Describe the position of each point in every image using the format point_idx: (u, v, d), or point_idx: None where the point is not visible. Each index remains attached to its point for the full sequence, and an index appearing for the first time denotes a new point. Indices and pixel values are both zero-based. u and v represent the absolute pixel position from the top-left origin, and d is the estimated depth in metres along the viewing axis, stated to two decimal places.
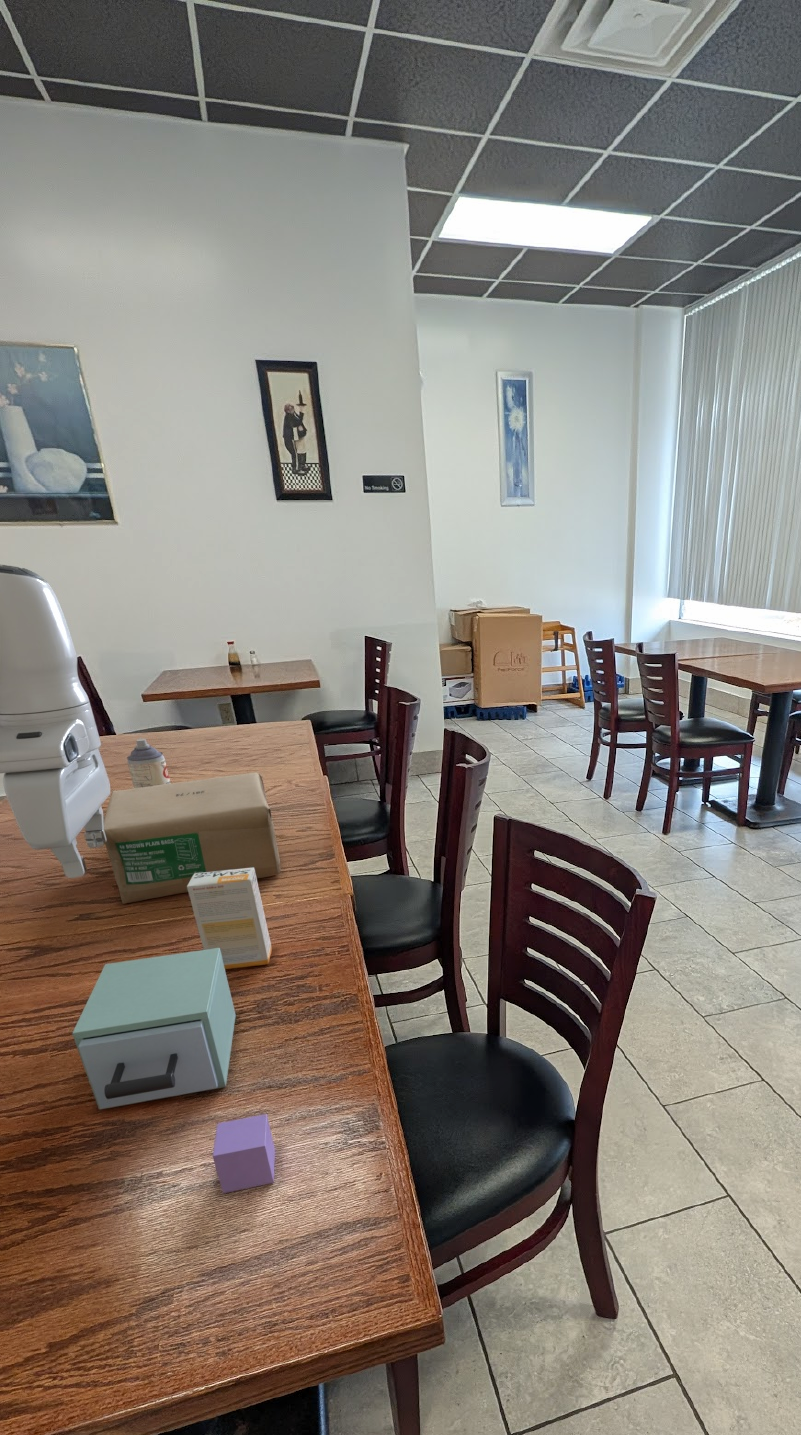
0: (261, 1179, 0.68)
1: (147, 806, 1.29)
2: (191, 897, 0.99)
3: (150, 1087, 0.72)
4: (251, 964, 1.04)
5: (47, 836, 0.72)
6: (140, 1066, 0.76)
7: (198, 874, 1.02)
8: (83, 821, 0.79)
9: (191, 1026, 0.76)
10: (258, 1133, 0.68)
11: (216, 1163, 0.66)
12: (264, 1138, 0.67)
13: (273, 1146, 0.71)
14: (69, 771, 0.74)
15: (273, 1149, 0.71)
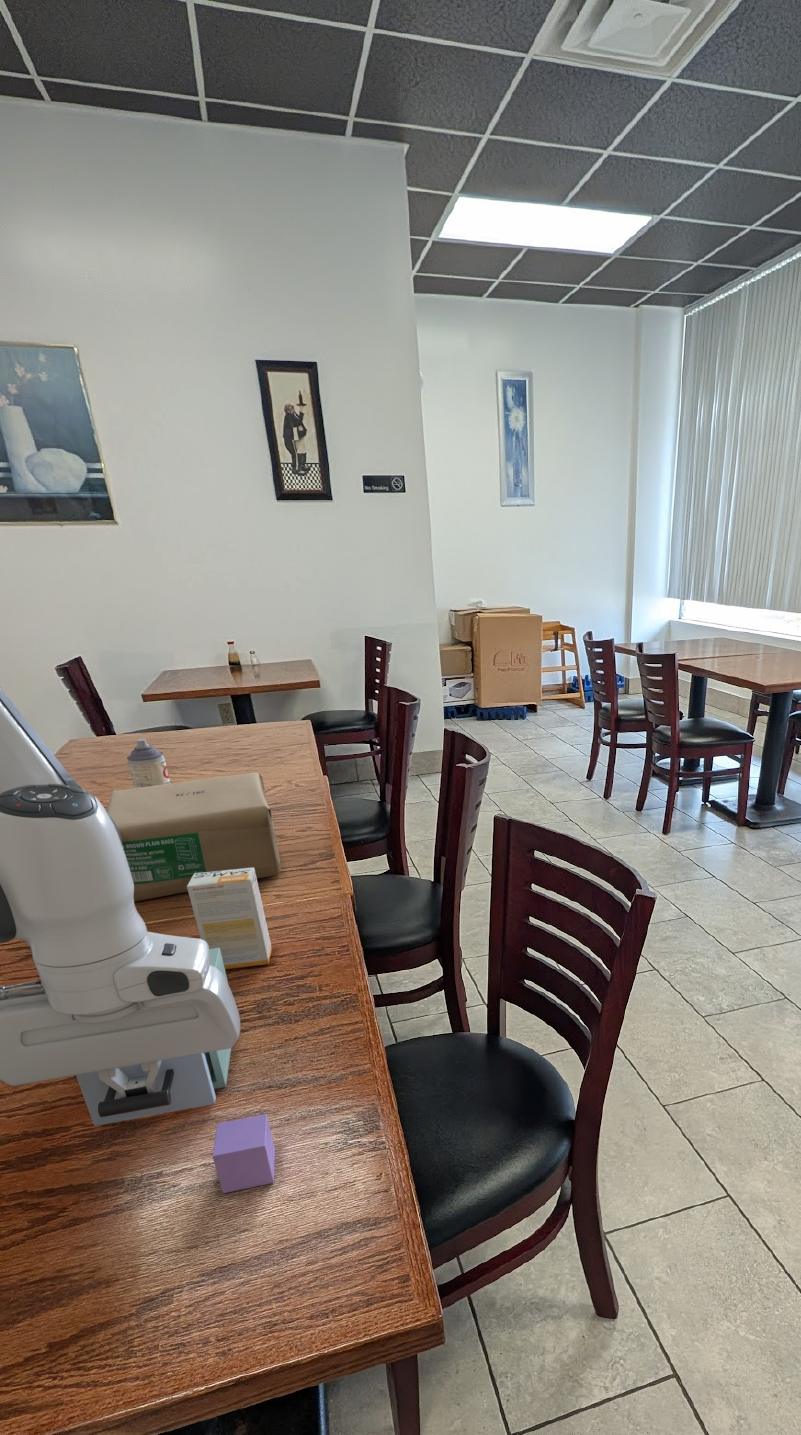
0: (261, 1179, 0.68)
1: (147, 806, 1.29)
2: (191, 897, 0.99)
3: (145, 1104, 0.70)
4: (251, 964, 1.04)
5: (238, 1023, 0.71)
6: None
7: (198, 874, 1.02)
8: None
9: None
10: (258, 1133, 0.68)
11: (216, 1163, 0.66)
12: (264, 1138, 0.67)
13: (273, 1146, 0.71)
14: None
15: (273, 1149, 0.71)
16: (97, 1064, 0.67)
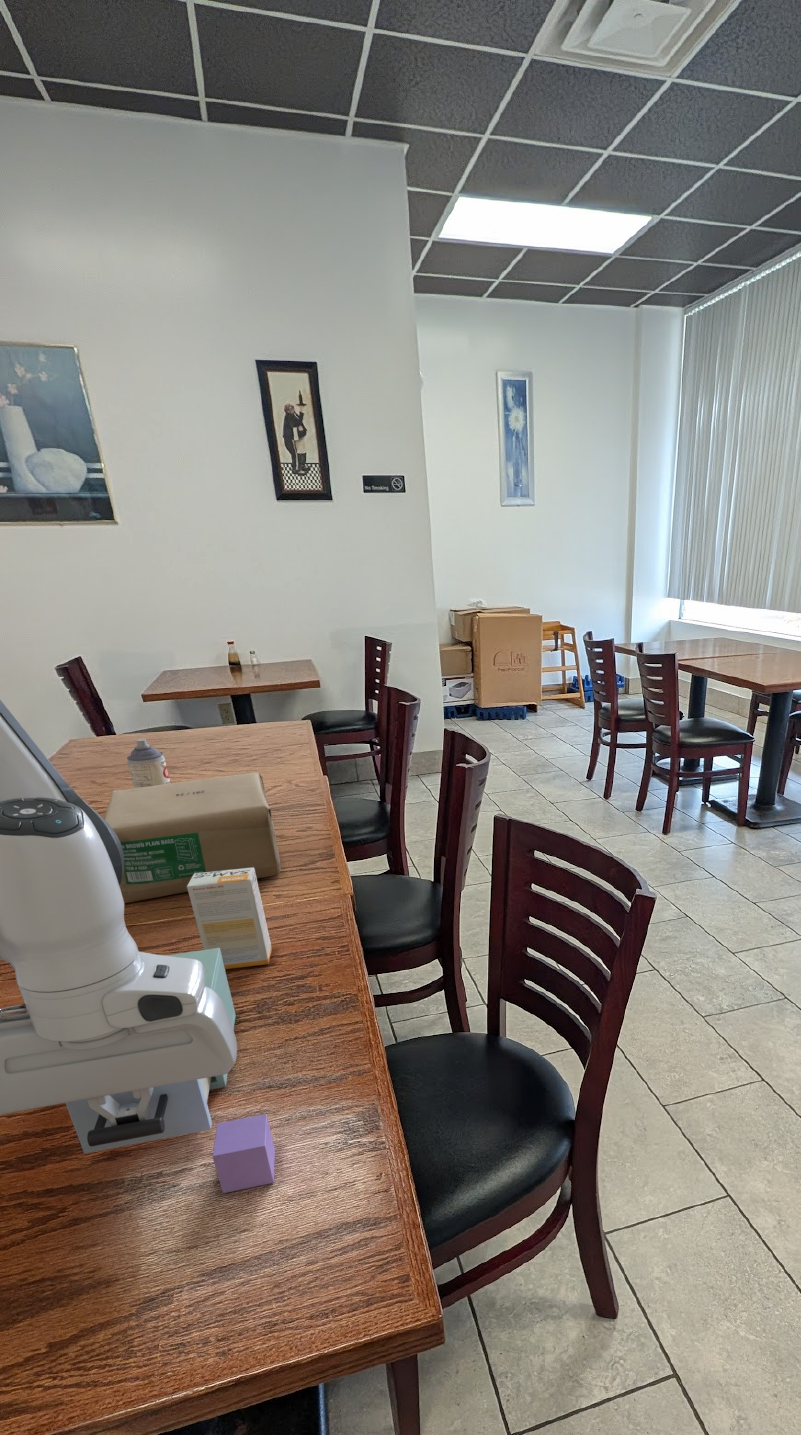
0: (261, 1179, 0.68)
1: (147, 806, 1.29)
2: (191, 897, 0.99)
3: (137, 1133, 0.66)
4: (251, 964, 1.04)
5: (235, 1047, 0.68)
6: None
7: (198, 874, 1.02)
8: None
9: None
10: (258, 1133, 0.68)
11: (216, 1163, 0.66)
12: (264, 1138, 0.67)
13: (273, 1146, 0.71)
14: None
15: (273, 1149, 0.71)
16: (86, 1092, 0.64)
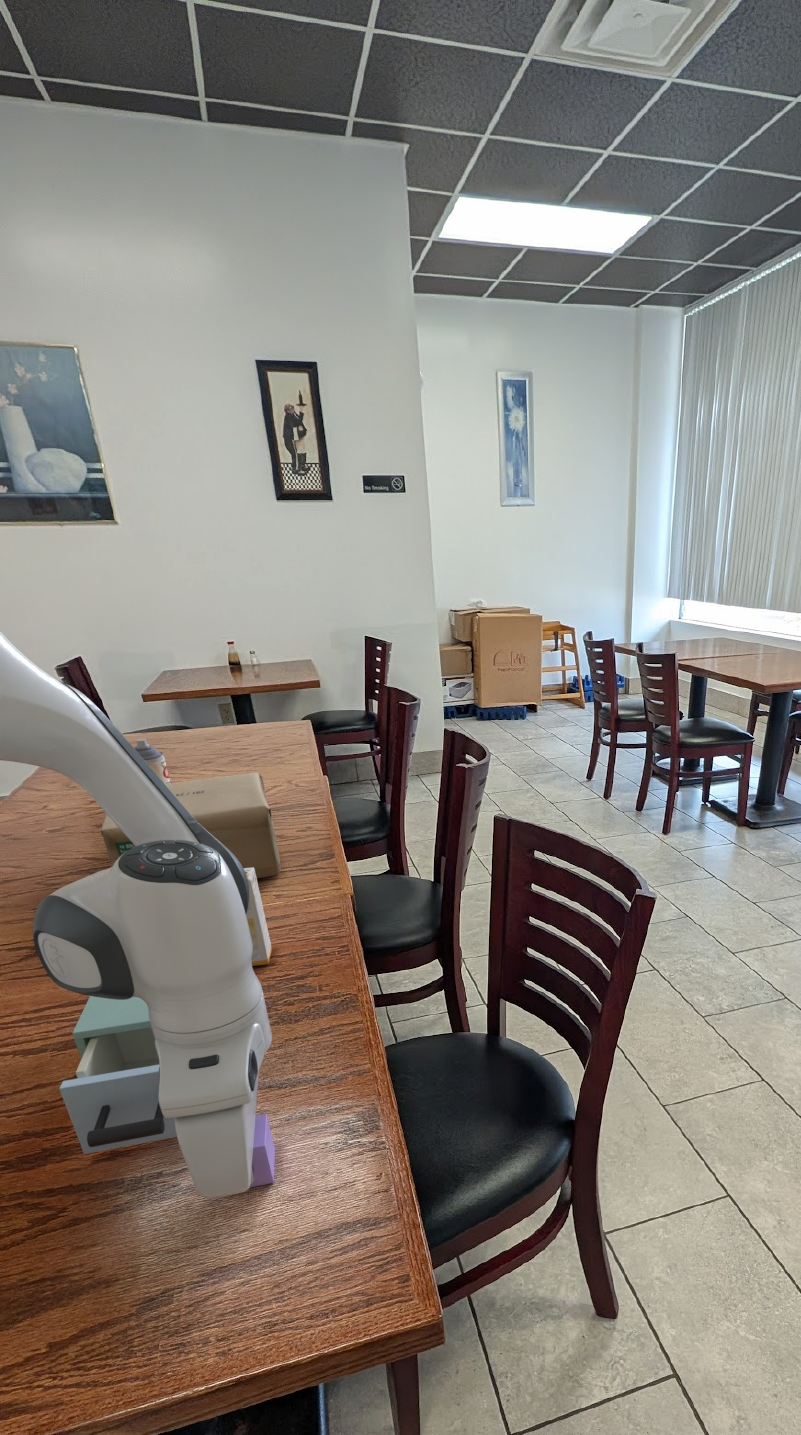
0: (261, 1179, 0.68)
1: None
2: None
3: (136, 1133, 0.66)
4: None
5: (226, 1187, 0.58)
6: (127, 1108, 0.70)
7: None
8: (253, 1135, 0.64)
9: None
10: (258, 1133, 0.68)
11: None
12: (264, 1138, 0.67)
13: (273, 1146, 0.71)
14: None
15: (273, 1149, 0.71)
16: None
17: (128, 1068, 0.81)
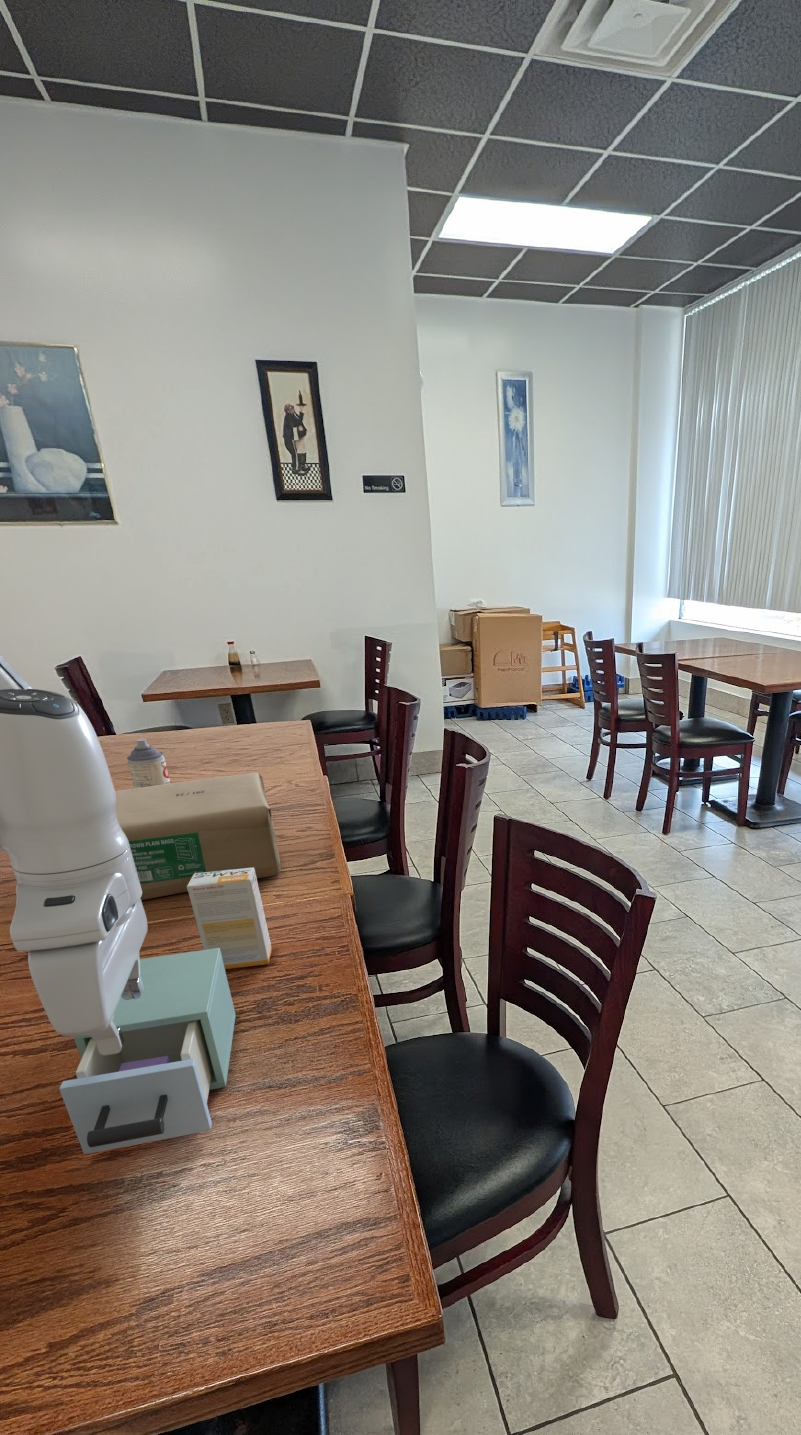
0: None
1: (147, 805, 1.29)
2: (191, 897, 0.99)
3: (136, 1134, 0.66)
4: (251, 964, 1.04)
5: (81, 1023, 0.59)
6: (127, 1108, 0.70)
7: (198, 874, 1.02)
8: (121, 988, 0.65)
9: (182, 1065, 0.70)
10: None
11: None
12: None
13: None
14: (107, 940, 0.61)
15: None
16: None
17: None
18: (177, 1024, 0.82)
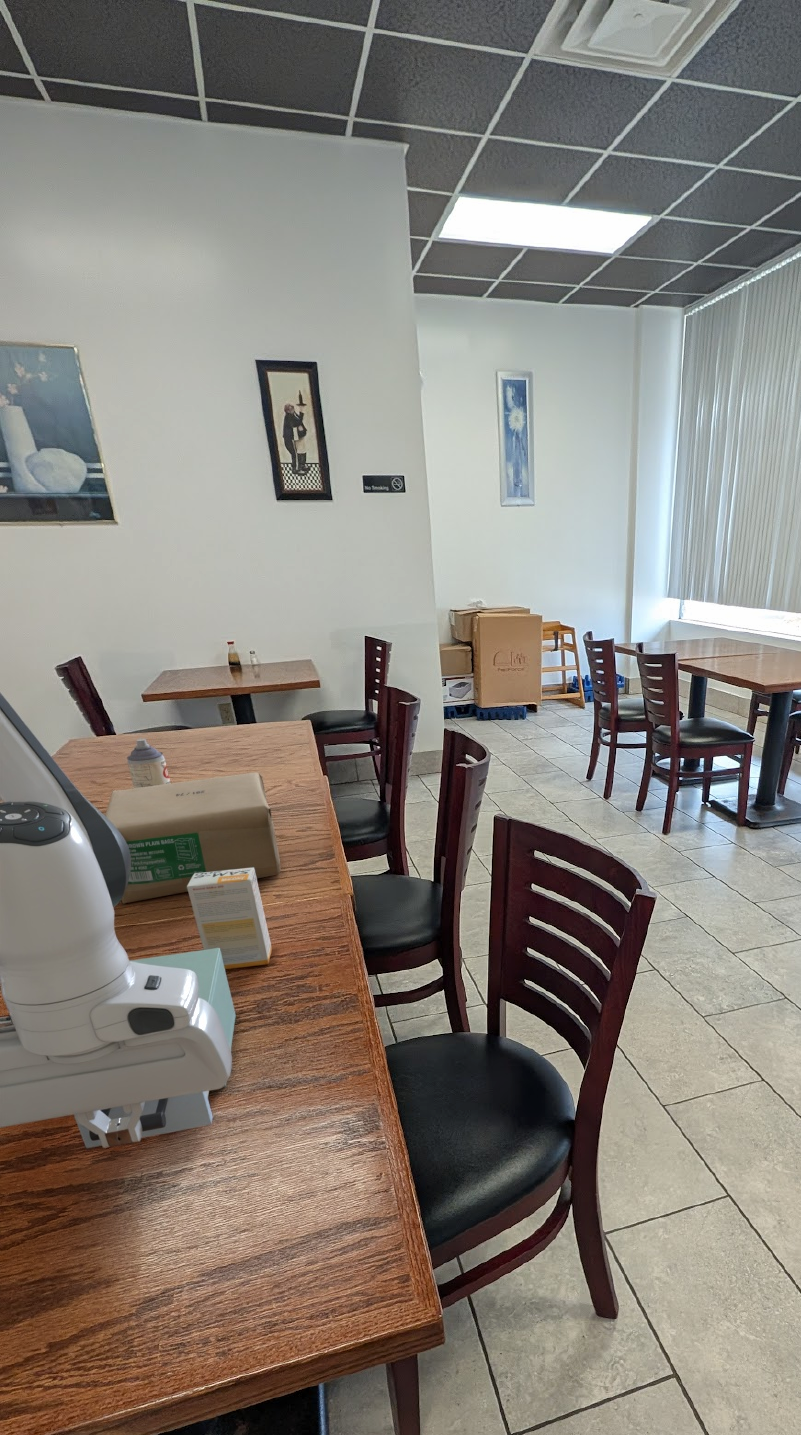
0: None
1: (147, 805, 1.29)
2: (191, 897, 0.99)
3: None
4: (251, 964, 1.04)
5: (230, 1060, 0.66)
6: None
7: (198, 874, 1.02)
8: None
9: None
10: None
11: None
12: None
13: None
14: None
15: None
16: (74, 1107, 0.61)
17: None
18: None
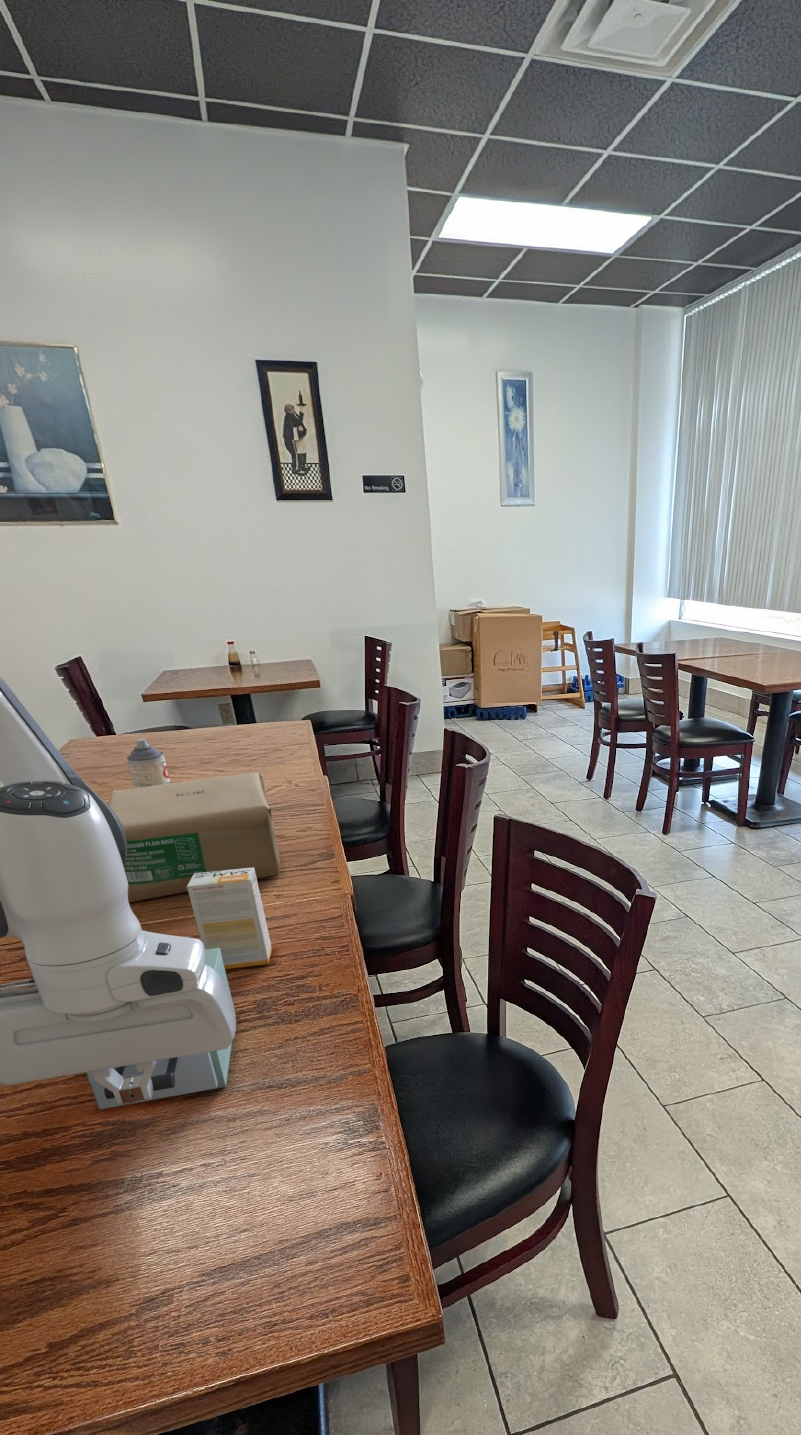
0: None
1: (147, 805, 1.29)
2: (191, 897, 0.99)
3: None
4: (251, 964, 1.04)
5: (234, 1024, 0.71)
6: None
7: (198, 874, 1.02)
8: None
9: None
10: None
11: None
12: None
13: None
14: None
15: None
16: (91, 1064, 0.67)
17: None
18: None
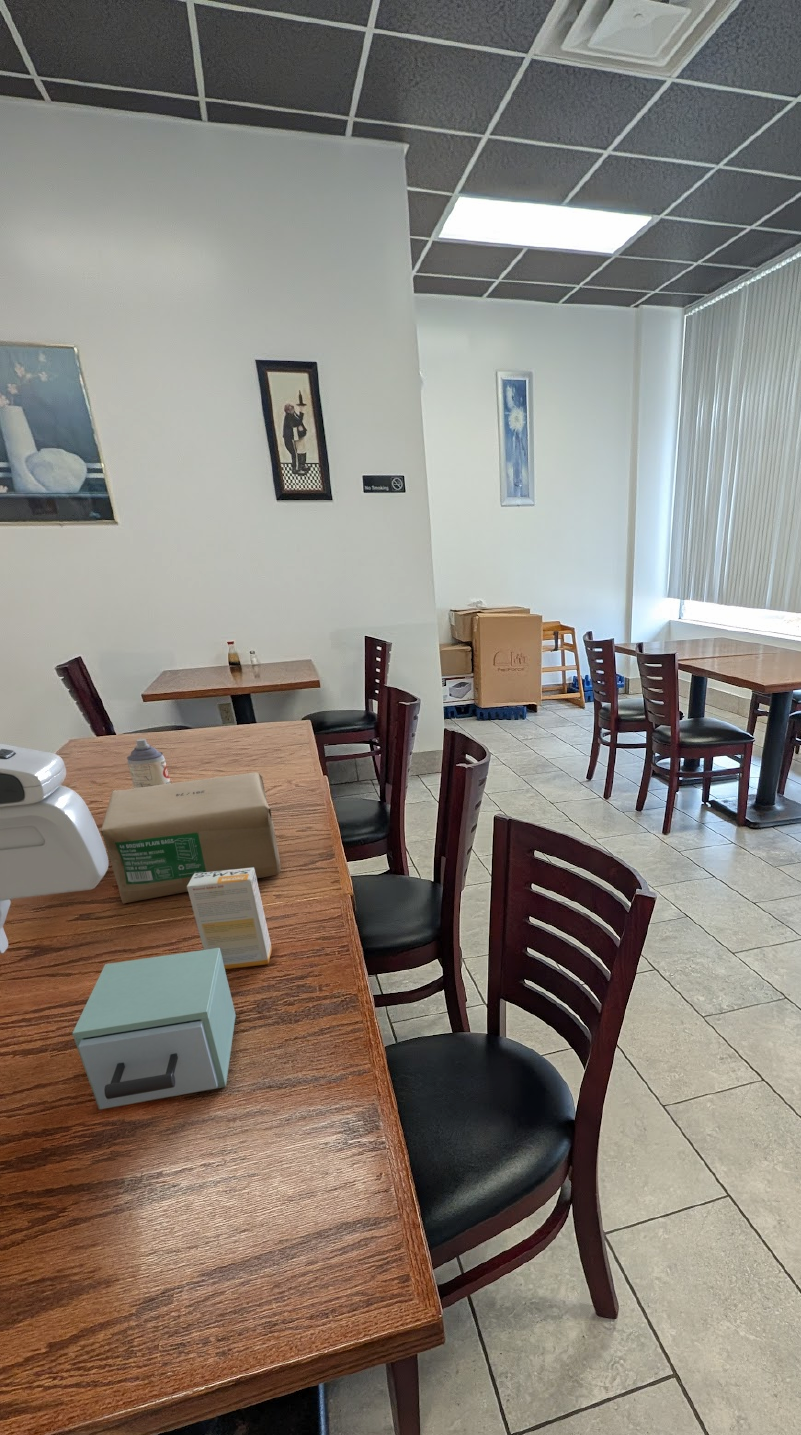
0: None
1: (147, 805, 1.29)
2: (191, 897, 0.99)
3: (150, 1087, 0.72)
4: (251, 964, 1.04)
5: (104, 862, 0.58)
6: (140, 1066, 0.76)
7: (198, 874, 1.02)
8: None
9: (191, 1026, 0.76)
10: None
11: None
12: None
13: None
14: None
15: None
16: None
17: None
18: None
